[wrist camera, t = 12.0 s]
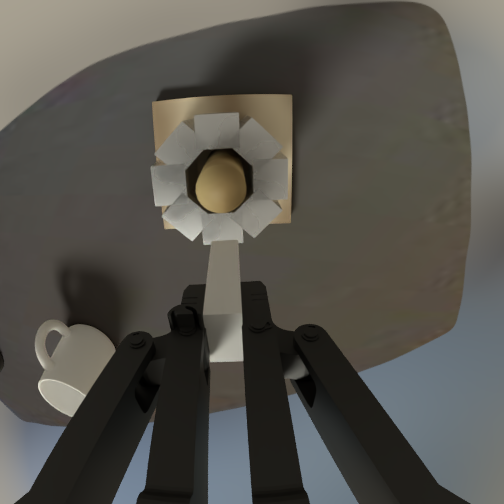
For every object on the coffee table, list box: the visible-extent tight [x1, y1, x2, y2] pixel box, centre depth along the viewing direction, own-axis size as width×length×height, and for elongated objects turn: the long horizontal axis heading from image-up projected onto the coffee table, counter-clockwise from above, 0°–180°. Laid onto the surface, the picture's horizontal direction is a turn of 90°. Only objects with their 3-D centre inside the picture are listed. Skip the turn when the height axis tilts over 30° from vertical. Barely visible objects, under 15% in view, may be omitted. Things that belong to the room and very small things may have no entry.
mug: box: [35, 319, 116, 417], centre depth 31 cm, size 12×8×10 cm
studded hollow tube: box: [151, 112, 288, 245], centre depth 22 cm, size 9×9×7 cm
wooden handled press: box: [152, 94, 292, 229], centre depth 22 cm, size 12×12×10 cm
